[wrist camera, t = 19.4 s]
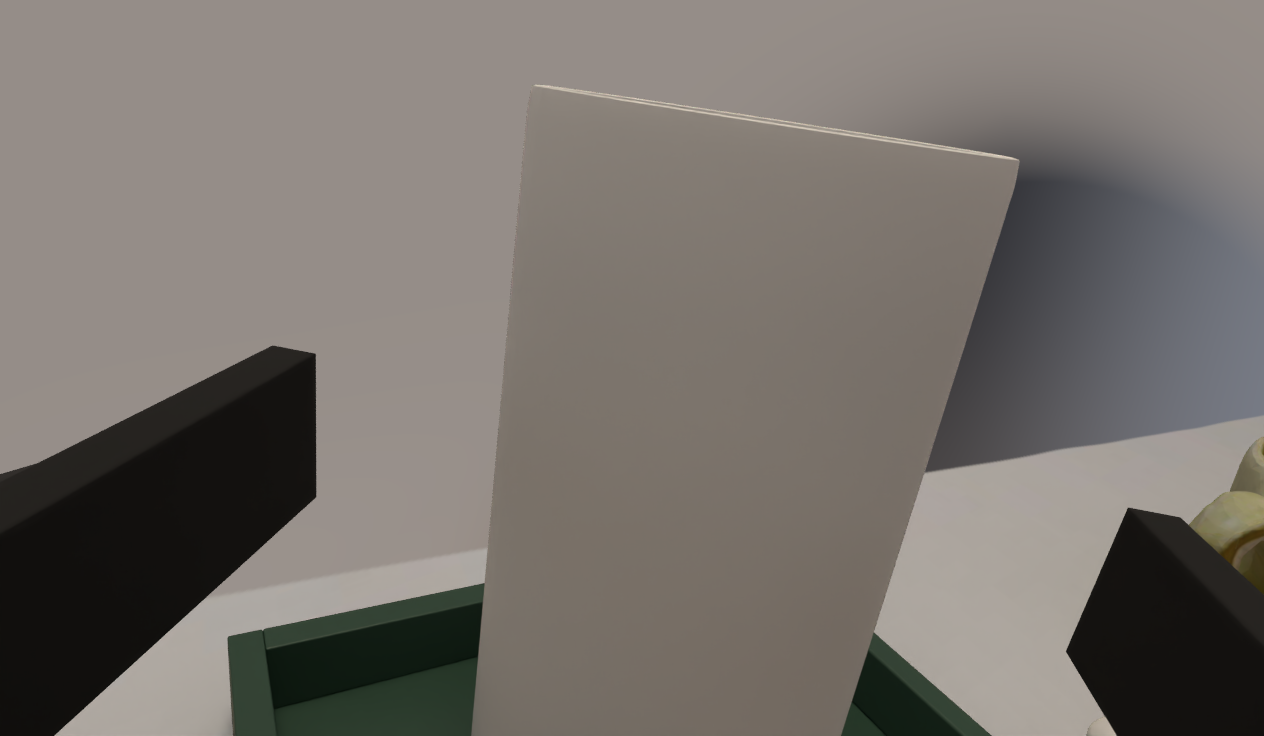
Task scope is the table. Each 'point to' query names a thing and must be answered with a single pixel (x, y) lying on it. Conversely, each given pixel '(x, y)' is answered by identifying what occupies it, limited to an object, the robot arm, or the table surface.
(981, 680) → the table surface
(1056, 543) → the table surface
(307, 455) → the robot arm
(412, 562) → the table surface
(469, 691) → the tray
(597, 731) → the cup
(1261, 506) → the mug
